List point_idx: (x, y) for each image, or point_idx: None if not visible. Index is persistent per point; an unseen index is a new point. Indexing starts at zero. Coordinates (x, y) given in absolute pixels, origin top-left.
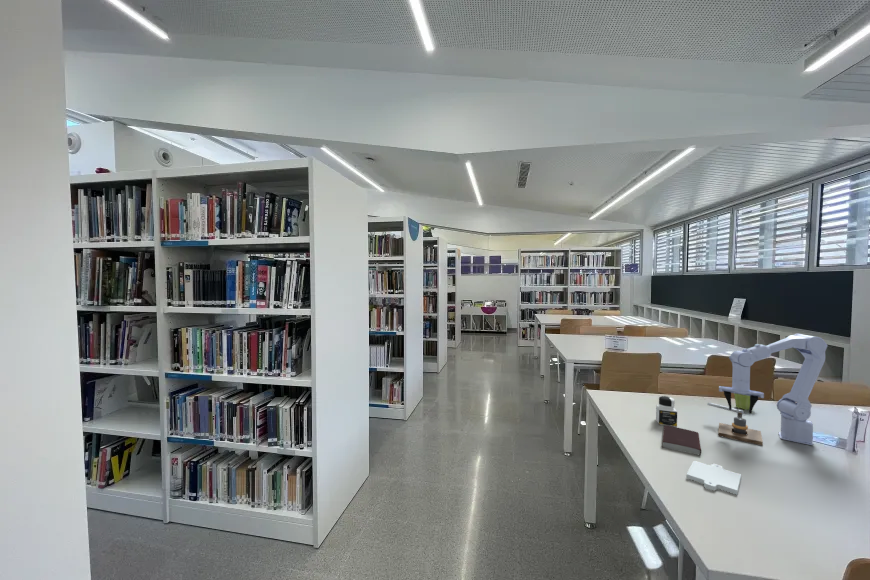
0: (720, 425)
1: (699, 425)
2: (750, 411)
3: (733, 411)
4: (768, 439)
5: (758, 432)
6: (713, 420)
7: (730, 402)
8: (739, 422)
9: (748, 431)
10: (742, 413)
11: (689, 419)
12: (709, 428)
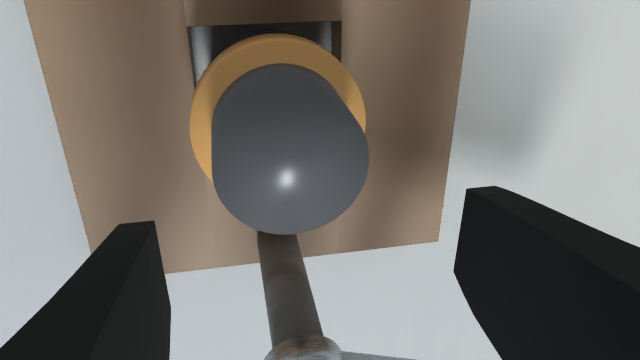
0: (436, 165)
1: (586, 105)
2: (121, 241)
3: (376, 356)
4: (16, 167)
5: (107, 221)
6: (452, 324)
7: (615, 267)
8: (291, 78)
9: (193, 179)
10: (272, 355)
11: (631, 210)
12: (514, 82)
